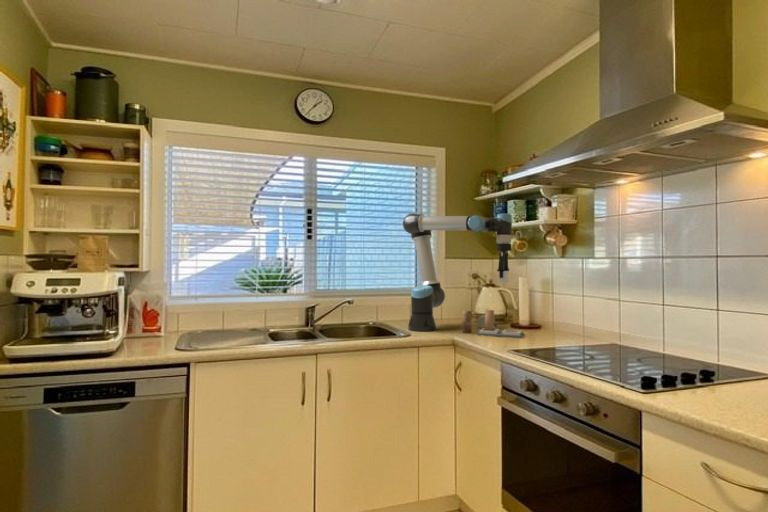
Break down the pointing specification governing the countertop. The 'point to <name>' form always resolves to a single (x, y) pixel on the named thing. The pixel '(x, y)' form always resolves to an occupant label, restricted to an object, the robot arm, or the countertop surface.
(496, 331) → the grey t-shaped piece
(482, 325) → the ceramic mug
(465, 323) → the wooden pin
